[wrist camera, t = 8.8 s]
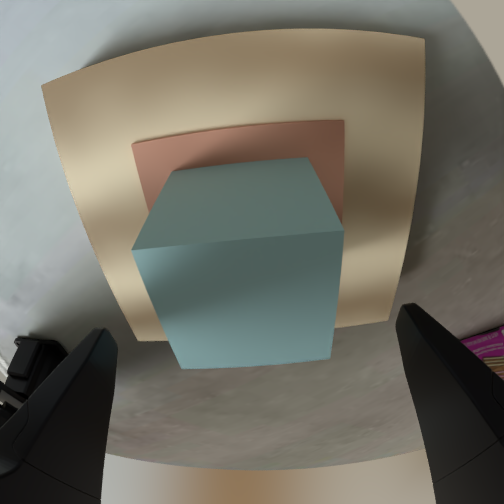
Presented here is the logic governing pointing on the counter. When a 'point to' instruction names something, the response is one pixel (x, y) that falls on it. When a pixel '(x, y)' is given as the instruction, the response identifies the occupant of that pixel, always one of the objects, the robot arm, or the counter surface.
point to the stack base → (249, 142)
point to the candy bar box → (489, 349)
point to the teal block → (243, 264)
